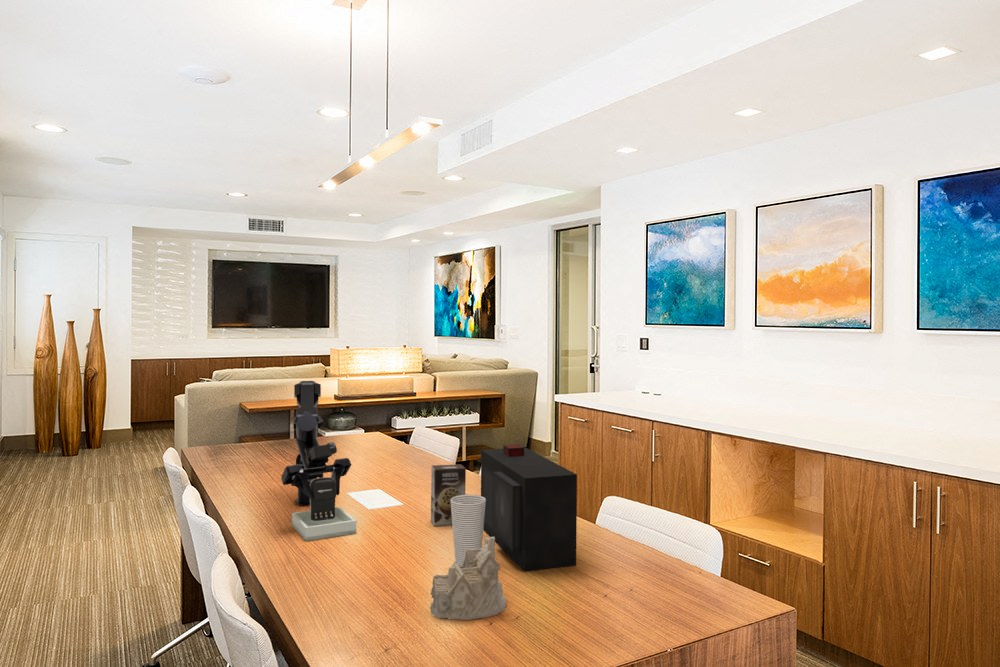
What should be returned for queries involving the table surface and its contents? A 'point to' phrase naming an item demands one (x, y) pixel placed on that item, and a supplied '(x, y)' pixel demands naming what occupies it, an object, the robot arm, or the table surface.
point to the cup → (467, 524)
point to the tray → (323, 525)
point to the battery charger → (323, 499)
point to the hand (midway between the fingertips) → (325, 496)
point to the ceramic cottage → (470, 587)
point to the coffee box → (445, 491)
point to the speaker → (530, 507)
